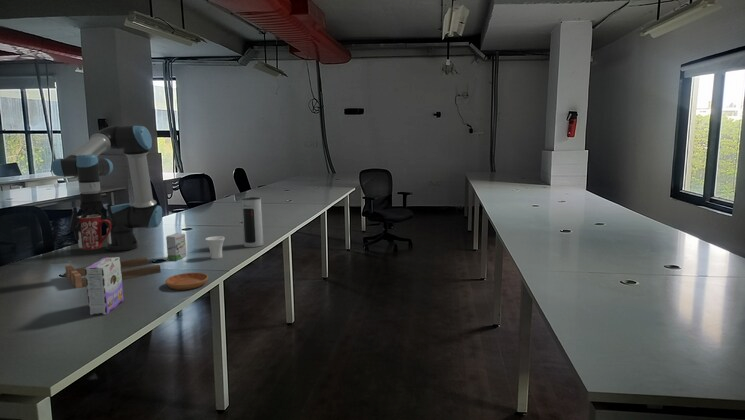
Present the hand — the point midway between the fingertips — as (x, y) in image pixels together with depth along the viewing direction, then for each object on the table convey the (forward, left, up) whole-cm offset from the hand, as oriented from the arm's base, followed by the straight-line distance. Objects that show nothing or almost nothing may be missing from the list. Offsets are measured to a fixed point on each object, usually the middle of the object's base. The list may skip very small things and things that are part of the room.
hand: (95, 245), depth 199 cm
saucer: (+35, +24, -14) cm, 45 cm away
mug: (0, 0, -1) cm, 1 cm away
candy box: (+42, -7, -14) cm, 45 cm away
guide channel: (0, +7, -14) cm, 16 cm away
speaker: (-9, +77, -14) cm, 79 cm away
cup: (+2, +51, -14) cm, 53 cm away
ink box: (-9, +36, -14) cm, 40 cm away
